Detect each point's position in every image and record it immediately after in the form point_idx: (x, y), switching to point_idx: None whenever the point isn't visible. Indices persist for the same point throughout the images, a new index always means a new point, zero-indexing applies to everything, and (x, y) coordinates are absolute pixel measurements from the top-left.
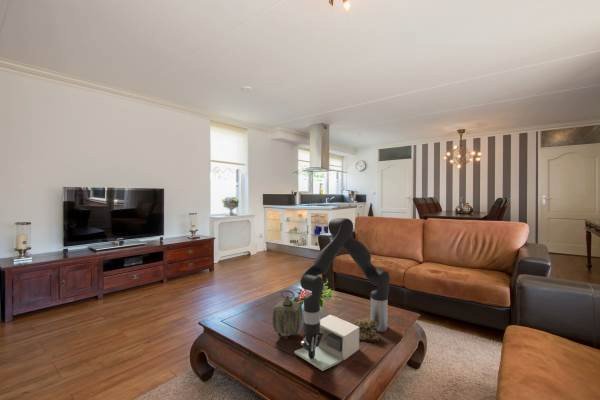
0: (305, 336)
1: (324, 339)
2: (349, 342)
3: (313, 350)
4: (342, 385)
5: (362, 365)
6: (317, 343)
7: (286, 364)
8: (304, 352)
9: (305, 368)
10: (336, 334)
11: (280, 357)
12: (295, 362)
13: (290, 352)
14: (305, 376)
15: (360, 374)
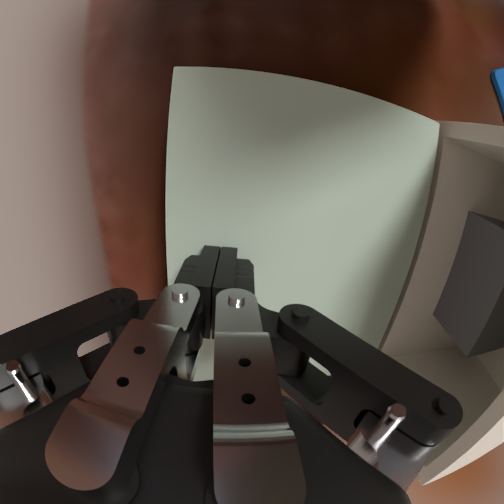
0: (7, 475)
1: (501, 164)
2: None
3: (212, 336)
4: None
5: None
6: (286, 391)
7: (95, 101)
8: (240, 152)
9: (158, 233)
10: (461, 436)
11: (129, 11)
12: (154, 126)
13: (233, 8)
14: (110, 281)
15: (320, 422)
